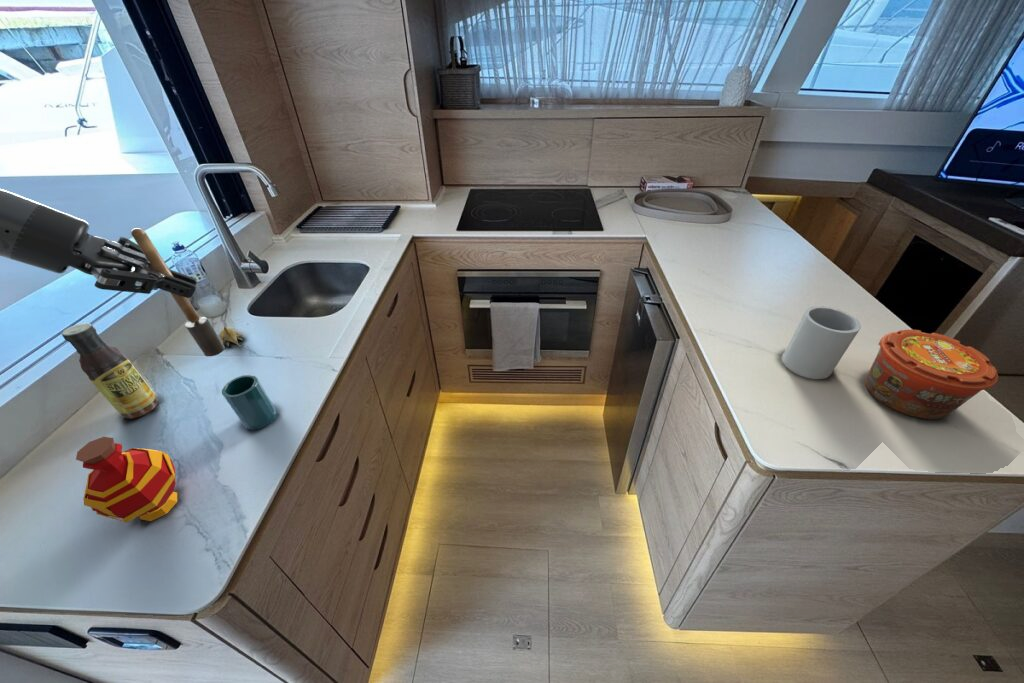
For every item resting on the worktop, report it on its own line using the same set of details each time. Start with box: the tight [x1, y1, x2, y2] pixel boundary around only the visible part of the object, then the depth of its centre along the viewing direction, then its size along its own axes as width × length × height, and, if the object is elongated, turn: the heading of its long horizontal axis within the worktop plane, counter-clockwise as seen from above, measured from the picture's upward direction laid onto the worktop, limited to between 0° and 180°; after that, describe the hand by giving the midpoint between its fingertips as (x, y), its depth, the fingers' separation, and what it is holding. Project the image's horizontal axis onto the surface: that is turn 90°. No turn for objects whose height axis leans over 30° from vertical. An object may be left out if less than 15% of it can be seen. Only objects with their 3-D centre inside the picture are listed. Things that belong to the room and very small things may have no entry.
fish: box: [219, 325, 244, 348], centre depth 95 cm, size 5×14×5 cm, turn 48°
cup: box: [781, 305, 862, 380], centre depth 81 cm, size 9×9×12 cm
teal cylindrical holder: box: [221, 374, 278, 431], centre depth 74 cm, size 6×6×9 cm
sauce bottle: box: [61, 322, 159, 420], centre depth 74 cm, size 7×6×20 cm
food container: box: [864, 329, 999, 421], centre depth 74 cm, size 16×16×11 cm
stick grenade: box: [130, 227, 226, 357], centre depth 60 cm, size 3×3×22 cm
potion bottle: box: [75, 436, 178, 523], centre depth 59 cm, size 10×10×15 cm
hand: (193, 288), depth 60 cm, fingers closed on stick grenade, 1 cm apart
